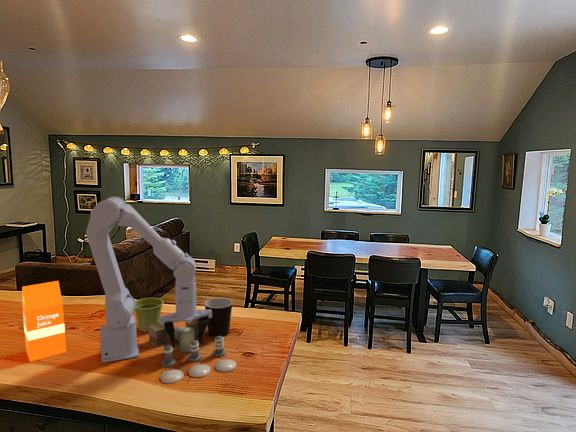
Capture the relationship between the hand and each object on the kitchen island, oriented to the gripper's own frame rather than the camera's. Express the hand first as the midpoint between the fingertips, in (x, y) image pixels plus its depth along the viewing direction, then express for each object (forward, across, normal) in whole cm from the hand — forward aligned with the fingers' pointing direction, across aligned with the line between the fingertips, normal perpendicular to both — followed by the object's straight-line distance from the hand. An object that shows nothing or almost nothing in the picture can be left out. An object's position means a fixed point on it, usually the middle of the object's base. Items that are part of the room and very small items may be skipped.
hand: (186, 343), depth 114 cm
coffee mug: (+2, +12, +8) cm, 15 cm away
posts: (+2, +1, -6) cm, 7 cm away
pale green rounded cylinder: (+2, 0, 0) cm, 2 cm away
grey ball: (+2, -1, +6) cm, 7 cm away
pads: (+2, +1, -14) cm, 14 cm away
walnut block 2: (+2, +4, +8) cm, 9 cm away
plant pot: (+2, -9, +18) cm, 20 cm away
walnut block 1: (+2, -6, +8) cm, 10 cm away
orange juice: (+2, -37, +13) cm, 39 cm away
